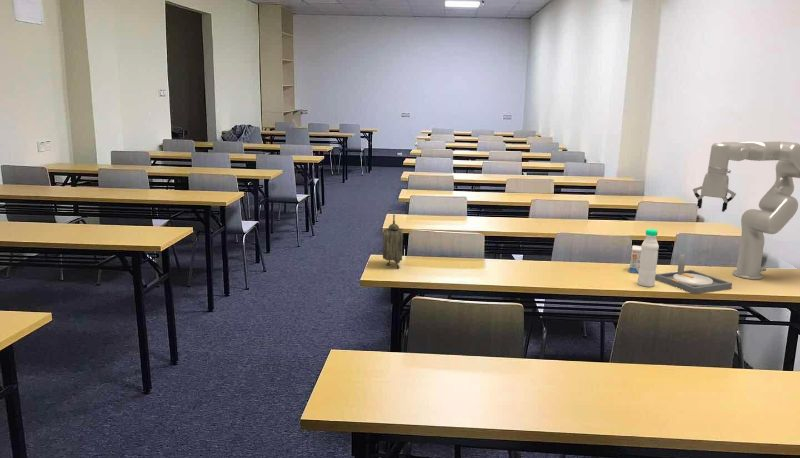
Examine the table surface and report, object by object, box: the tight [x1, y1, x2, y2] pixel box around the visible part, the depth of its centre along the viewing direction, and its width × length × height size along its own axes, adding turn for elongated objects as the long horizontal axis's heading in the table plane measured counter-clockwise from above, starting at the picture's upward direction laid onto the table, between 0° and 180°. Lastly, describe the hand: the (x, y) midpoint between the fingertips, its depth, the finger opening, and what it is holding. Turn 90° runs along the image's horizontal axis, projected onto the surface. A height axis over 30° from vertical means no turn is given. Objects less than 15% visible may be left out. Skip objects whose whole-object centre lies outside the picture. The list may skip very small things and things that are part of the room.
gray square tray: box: [655, 269, 733, 295], centre depth 270 cm, size 22×22×3 cm
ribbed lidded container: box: [382, 214, 404, 269], centre depth 289 cm, size 14×9×25 cm, turn 179°
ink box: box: [628, 245, 642, 274], centre depth 288 cm, size 9×8×12 cm
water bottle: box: [637, 228, 660, 288], centre depth 266 cm, size 7×7×25 cm
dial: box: [673, 253, 713, 287], centre depth 269 cm, size 16×16×10 cm
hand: (711, 209), depth 270 cm, fingers open, 9 cm apart
